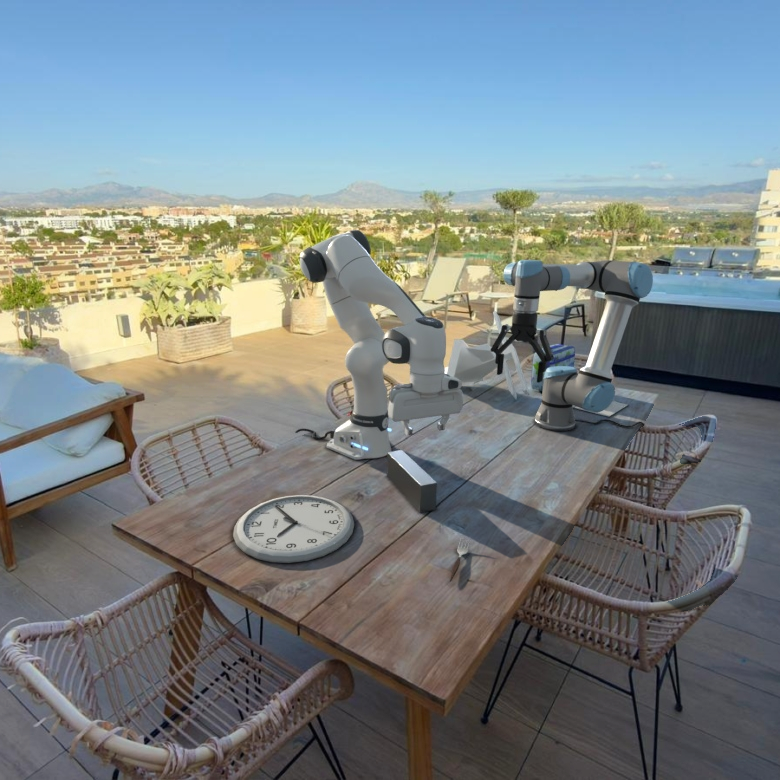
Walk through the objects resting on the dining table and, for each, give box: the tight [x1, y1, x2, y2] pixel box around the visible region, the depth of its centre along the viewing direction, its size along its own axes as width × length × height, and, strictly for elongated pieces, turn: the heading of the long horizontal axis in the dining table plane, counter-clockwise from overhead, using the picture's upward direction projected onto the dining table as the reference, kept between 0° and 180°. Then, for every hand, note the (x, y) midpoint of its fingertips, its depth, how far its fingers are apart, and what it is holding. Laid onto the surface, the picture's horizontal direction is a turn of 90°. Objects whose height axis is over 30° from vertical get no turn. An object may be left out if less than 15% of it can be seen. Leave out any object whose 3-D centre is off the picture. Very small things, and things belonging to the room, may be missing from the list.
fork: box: [449, 535, 471, 582], centre depth 119 cm, size 3×16×2 cm, turn 160°
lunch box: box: [530, 343, 576, 392], centre depth 248 cm, size 26×11×21 cm, turn 134°
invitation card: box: [573, 400, 629, 418], centre depth 226 cm, size 21×1×15 cm
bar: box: [386, 449, 438, 514], centre depth 149 cm, size 23×5×8 cm, turn 23°
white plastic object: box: [444, 310, 531, 400], centre depth 245 cm, size 37×45×31 cm
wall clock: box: [232, 494, 355, 564], centre depth 132 cm, size 30×2×30 cm
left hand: (424, 432), depth 137 cm, fingers open, 8 cm apart
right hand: (519, 377), depth 168 cm, fingers open, 13 cm apart
